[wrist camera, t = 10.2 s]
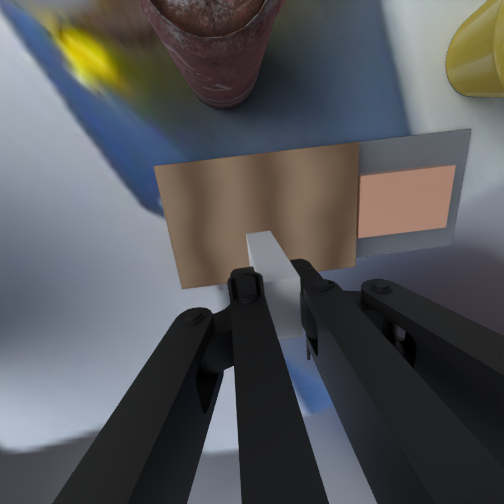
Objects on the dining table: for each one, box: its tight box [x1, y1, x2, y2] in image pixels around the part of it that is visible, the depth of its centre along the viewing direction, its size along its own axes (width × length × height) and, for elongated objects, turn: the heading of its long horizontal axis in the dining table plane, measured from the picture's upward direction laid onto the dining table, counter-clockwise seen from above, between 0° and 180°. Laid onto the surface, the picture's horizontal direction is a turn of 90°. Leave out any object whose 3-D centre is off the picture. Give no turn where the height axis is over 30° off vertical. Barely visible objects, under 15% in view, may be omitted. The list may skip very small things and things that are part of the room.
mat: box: [356, 129, 471, 258], centre depth 27 cm, size 12×12×1 cm
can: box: [139, 0, 285, 109], centre depth 16 cm, size 6×6×14 cm
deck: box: [154, 142, 359, 289], centre depth 26 cm, size 18×12×2 cm, turn 96°
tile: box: [356, 165, 456, 238], centre depth 26 cm, size 9×6×2 cm, turn 96°
